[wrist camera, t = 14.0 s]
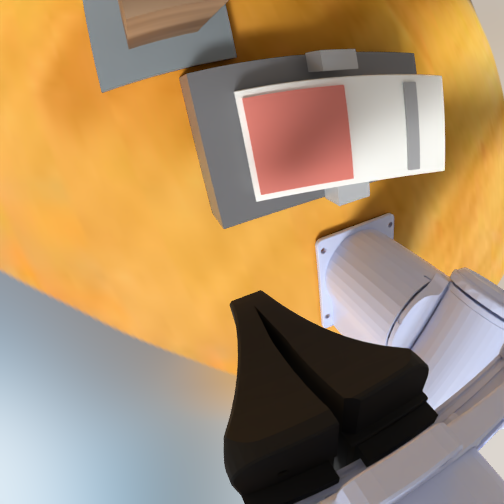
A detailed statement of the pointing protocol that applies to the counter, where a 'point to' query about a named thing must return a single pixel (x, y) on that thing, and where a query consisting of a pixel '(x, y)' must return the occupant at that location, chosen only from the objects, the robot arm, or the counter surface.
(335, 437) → the robot arm
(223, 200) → the switch housing
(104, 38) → the mat
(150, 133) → the counter surface
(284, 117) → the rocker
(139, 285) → the counter surface
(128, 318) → the counter surface
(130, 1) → the brown rectangular block
